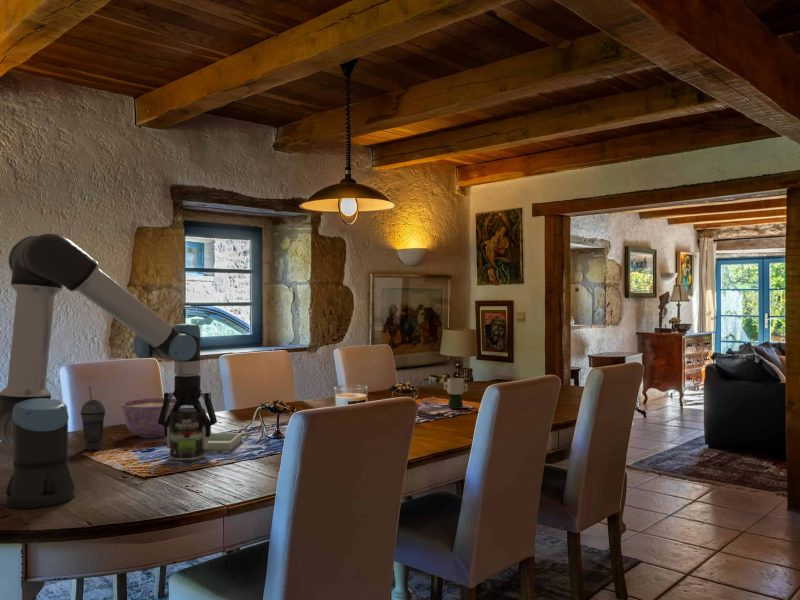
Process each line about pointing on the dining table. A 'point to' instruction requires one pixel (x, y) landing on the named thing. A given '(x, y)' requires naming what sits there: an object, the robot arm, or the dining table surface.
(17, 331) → the robot arm
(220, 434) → the tray
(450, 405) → the character mug
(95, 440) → the beverage cup
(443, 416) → the dining table surface
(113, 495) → the dining table surface
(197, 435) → the coffee can
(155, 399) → the bowl of food
